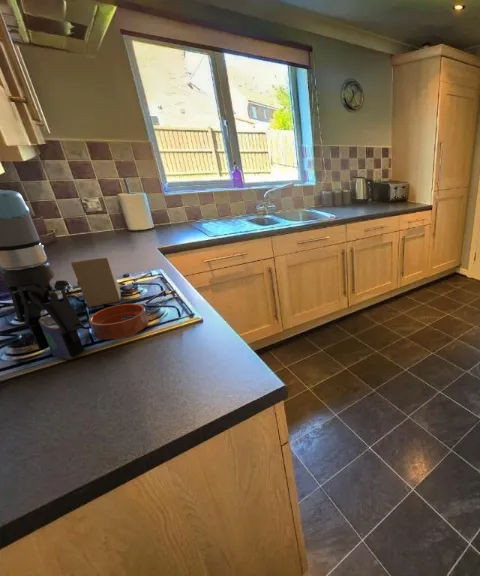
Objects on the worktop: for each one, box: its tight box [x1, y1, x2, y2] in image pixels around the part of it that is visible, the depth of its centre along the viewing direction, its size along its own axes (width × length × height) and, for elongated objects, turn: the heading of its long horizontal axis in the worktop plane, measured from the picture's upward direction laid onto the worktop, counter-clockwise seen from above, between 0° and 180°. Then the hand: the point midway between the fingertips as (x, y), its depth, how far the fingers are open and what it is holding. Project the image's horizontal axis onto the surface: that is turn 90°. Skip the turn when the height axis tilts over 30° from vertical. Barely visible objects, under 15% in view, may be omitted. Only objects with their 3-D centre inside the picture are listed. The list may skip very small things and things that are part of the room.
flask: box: [39, 315, 78, 361], centre depth 79 cm, size 9×3×11 cm, turn 63°
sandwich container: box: [70, 257, 121, 308], centre depth 107 cm, size 9×15×15 cm, turn 37°
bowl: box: [88, 303, 150, 341], centre depth 91 cm, size 12×12×5 cm
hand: (62, 350), depth 81 cm, fingers closed on flask, 9 cm apart
